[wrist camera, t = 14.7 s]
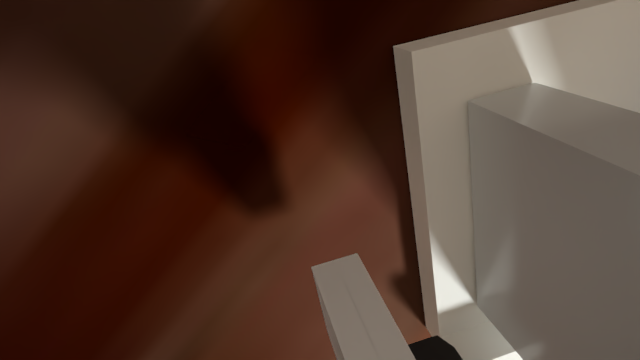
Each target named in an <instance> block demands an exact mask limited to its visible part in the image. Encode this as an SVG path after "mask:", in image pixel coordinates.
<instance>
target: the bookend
mask: <svg viewBox="0 0 640 360" xmlns="http://www.w3.org/2000/svg"><path fill="white" fill-rule="evenodd" d="M468 121H469V142H470V164H471V185H472V206H473V227H474V248H475V269H476V290H477V306H478V307H479V308H480V310H481V311H482V312H483V313H484V314H485V315H486V317H487V318H488V319H489V320H490V321H491V323H492V324H493V325H494V326H495V327H496V328H497V330H498V331H499V332H500V333H501V334H502V335H503V337H504V338H505V339H506V340H507V341H508V342H509V344H510V345H511V346H512V347H513V348H514V350H515V351H516V352H517V353H518V354H519V355H520V357H521V358H522V359H523V360H640V113H638V112H634V111H631V110H627V109H624V108H621V107H617V106H614V105H610V104H607V103H603V102H600V101H597V100H593V99H590V98H586V97H583V96H579V95H576V94H573V93H569V92H566V91H562V90H559V89H555V88H552V87H548V86H545V85H542V84H538V83H531V84H527V85H523V86H520V87H516V88H512V89H509V90H505V91H501V92H498V93H494V94H490V95H487V96H483V97H479V98H475V99H472V100H468Z"/></svg>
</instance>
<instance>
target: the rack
mask: <svg viewBox="0 0 640 360" xmlns="http://www.w3.org/2000/svg"><path fill="white" fill-rule="evenodd" d="M393 50H394V59H395V67H396V76H397V84H398V93H399V101H400V110H401V118H402V127H403V135H404V144H405V152H406V161H407V170H408V178H409V187H410V195H411V204H412V212H413V221H414V229H415V238H416V246H417V255H418V263H419V272H420V280H421V289H422V297H423V306H424V315H425V323H426V328H427V330H428V331H429V333H430V335H431V336H432V337H433V336H436V335H438V336H439V337H441V338H442V339H443V340H445V341H446V342H448V343H449V344H450V345H452V346H453V347H455V349H456V350H457V352H458V353H459V355H460V356H461V358H462V359H463V360H523V359H522V358H521V357H520V355H519V354H518V353H517V352H516V351H515V350H514V348H513V347H512V346H511V345H510V344H509V342H508V341H507V340H506V339H505V338H504V337H503V335H502V334H501V333H500V332H499V331H498V330H497V328H496V327H495V326H494V325H493V324H492V323H491V321H490V320H489V319H488V318H487V317H486V315H485V314H484V313H483V312H482V311H481V310H480V308H479V307H478V306H477V290H476V269H475V248H474V227H473V206H472V185H471V164H470V142H469V121H468V100H472V99H475V98H479V97H483V96H487V95H490V94H494V93H498V92H501V91H505V90H509V89H512V88H516V87H520V86H523V85H527V84H531V83H538V84H542V85H545V86H548V87H552V88H555V89H559V90H562V91H566V92H569V93H573V94H576V95H579V96H583V97H586V98H590V99H593V100H597V101H600V102H603V103H607V104H610V105H614V106H617V107H621V108H624V109H627V110H631V111H634V112H638V113H640V0H577V1H573V2H569V3H565V4H561V5H557V6H553V7H549V8H545V9H541V10H537V11H533V12H529V13H525V14H521V15H517V16H513V17H509V18H505V19H501V20H497V21H493V22H488V23H484V24H480V25H476V26H472V27H468V28H464V29H460V30H456V31H452V32H448V33H444V34H440V35H436V36H432V37H428V38H424V39H420V40H416V41H412V42H408V43H404V44H399V45H395V46H393Z"/></svg>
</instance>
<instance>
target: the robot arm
mask: <svg viewBox="0 0 640 360" xmlns="http://www.w3.org/2000/svg"><path fill="white" fill-rule="evenodd" d="M311 268H312V272H313V276H314V280H315V284H316V288H317V292H318V296H319V300H320V304H321V308H322V312H323V316H324V320H325V324H326V328H327V332H328V335H329V338H330V341H331V344H332V347H333V350H334V353H335V355H336V358H337V360H463V359H462V358H461V356H460V355H459V353H458V352H457V350H456V349H455V347H453V346H452V345H450V344H449V343H448V342H446V341H445V340H443V339H442V338H441V337H439V336H438V335H436V336H433V337H430V338H427V339H424V340H421V341H418V342H415V343H412V344H409V345H408V344H407V343H406V341H405V339H404V337H403V335H402V334H401V332H400V330H399V328H398V326H397V324H396V323H395V321H394V319H393V317H392V315H391V314H390V312H389V310H388V308H387V306H386V305H385V303H384V301H383V299H382V297H381V295H380V294H379V292H378V290H377V288H376V286H375V285H374V283H373V281H372V279H371V277H370V275H369V274H368V272H367V270H366V268H365V266H364V265H363V263H362V261H361V259H360V257H359V256H358V254H357V253H356V254H353V255H349V256H346V257H343V258H339V259H336V260H333V261H329V262H326V263H323V264H319V265H316V266H313V267H311Z"/></svg>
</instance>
